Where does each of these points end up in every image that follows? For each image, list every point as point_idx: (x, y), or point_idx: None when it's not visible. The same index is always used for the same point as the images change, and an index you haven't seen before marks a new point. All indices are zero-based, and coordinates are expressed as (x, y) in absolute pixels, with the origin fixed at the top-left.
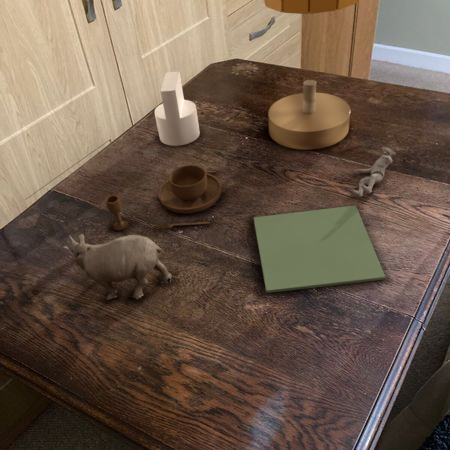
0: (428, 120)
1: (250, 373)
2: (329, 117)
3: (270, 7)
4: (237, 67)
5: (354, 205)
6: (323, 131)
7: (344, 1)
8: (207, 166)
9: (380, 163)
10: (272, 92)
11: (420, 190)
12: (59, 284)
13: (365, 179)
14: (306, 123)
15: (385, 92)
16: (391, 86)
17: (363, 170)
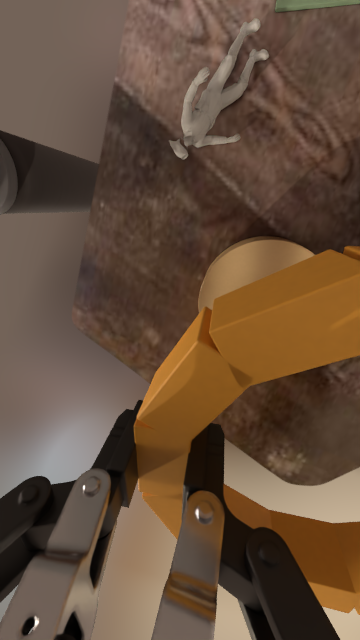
0: (99, 268)
1: None
2: (238, 276)
3: None
4: (292, 469)
5: (278, 7)
6: (261, 239)
7: (298, 270)
8: None
9: (202, 109)
10: (271, 400)
11: (153, 62)
12: None
13: (235, 86)
14: (281, 269)
15: (133, 350)
16: (123, 360)
17: (224, 137)
